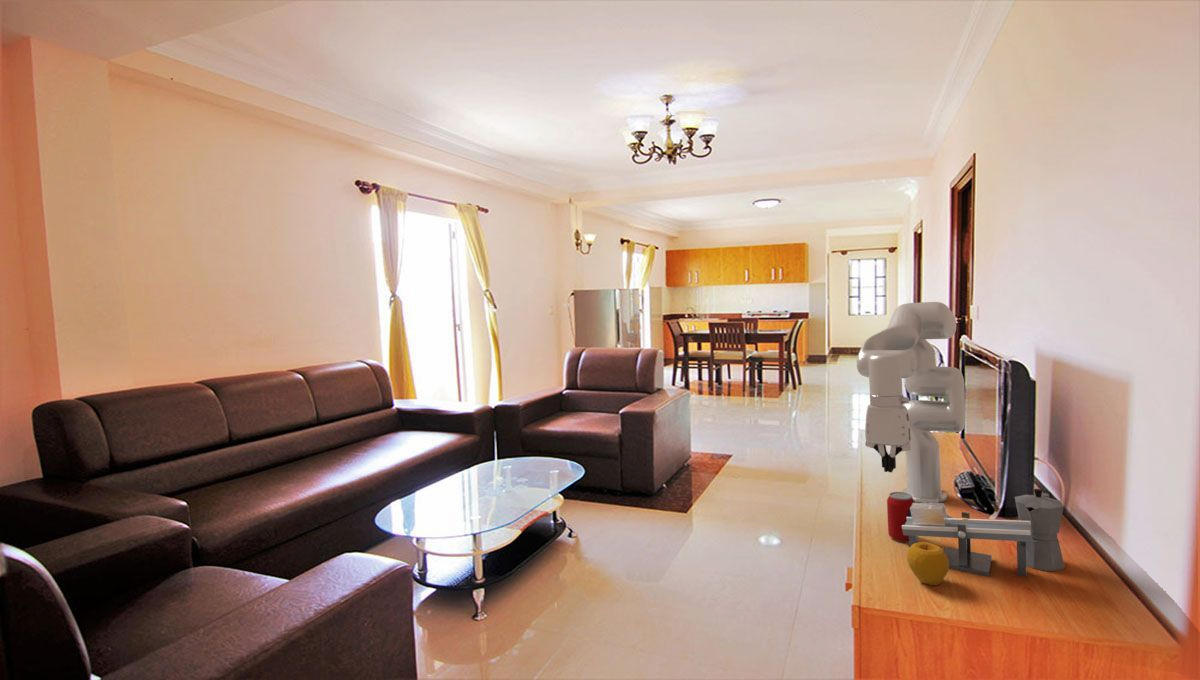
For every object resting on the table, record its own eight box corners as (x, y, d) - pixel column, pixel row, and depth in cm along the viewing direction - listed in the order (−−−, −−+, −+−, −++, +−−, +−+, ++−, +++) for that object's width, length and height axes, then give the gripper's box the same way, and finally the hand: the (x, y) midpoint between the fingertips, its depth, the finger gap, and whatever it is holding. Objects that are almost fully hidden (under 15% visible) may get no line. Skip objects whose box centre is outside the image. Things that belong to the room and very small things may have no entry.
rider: (917, 521, 141) (913, 502, 142) (948, 523, 137) (944, 503, 137) (914, 527, 138) (909, 508, 138) (946, 529, 134) (941, 509, 134)
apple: (901, 572, 131) (899, 536, 131) (939, 572, 130) (938, 536, 130) (915, 590, 123) (914, 552, 123) (956, 591, 122) (955, 552, 121)
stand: (914, 543, 145) (912, 503, 145) (1026, 565, 131) (1025, 520, 130) (906, 560, 137) (904, 517, 136) (1026, 585, 122) (1024, 537, 121)
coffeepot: (1056, 579, 124) (1054, 501, 123) (1007, 565, 131) (1004, 491, 130) (1075, 556, 133) (1073, 484, 132) (1028, 545, 140) (1026, 476, 139)
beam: (908, 525, 144) (906, 516, 144) (1032, 530, 128) (1030, 520, 128) (903, 535, 139) (901, 525, 139) (1032, 541, 122) (1029, 530, 122)
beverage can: (920, 543, 145) (918, 499, 145) (893, 543, 147) (891, 499, 146) (911, 533, 152) (909, 491, 151) (885, 532, 153) (883, 491, 152)
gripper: (921, 400, 140) (924, 470, 141) (858, 397, 149) (861, 463, 150) (916, 405, 134) (919, 478, 135) (851, 402, 143) (854, 471, 144)
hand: (889, 470), depth 142 cm, fingers closed
